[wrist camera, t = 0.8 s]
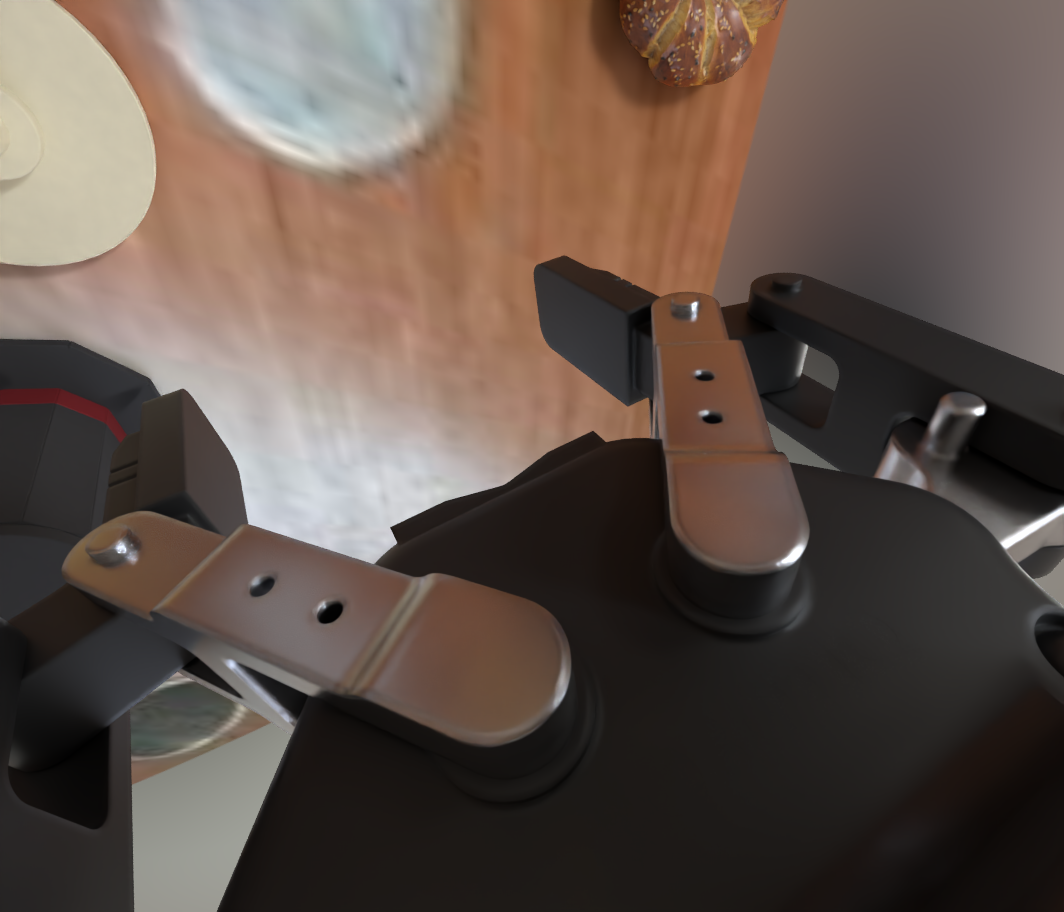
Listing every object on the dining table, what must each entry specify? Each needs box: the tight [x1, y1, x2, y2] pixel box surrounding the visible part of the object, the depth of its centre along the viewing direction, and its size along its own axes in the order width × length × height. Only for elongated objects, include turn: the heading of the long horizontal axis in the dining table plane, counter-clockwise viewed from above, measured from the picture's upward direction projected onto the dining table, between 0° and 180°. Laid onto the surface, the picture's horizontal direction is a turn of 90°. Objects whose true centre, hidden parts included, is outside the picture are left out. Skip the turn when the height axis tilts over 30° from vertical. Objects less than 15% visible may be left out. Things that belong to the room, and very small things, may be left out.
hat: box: [0, 339, 160, 621], centre depth 23 cm, size 11×11×11 cm
